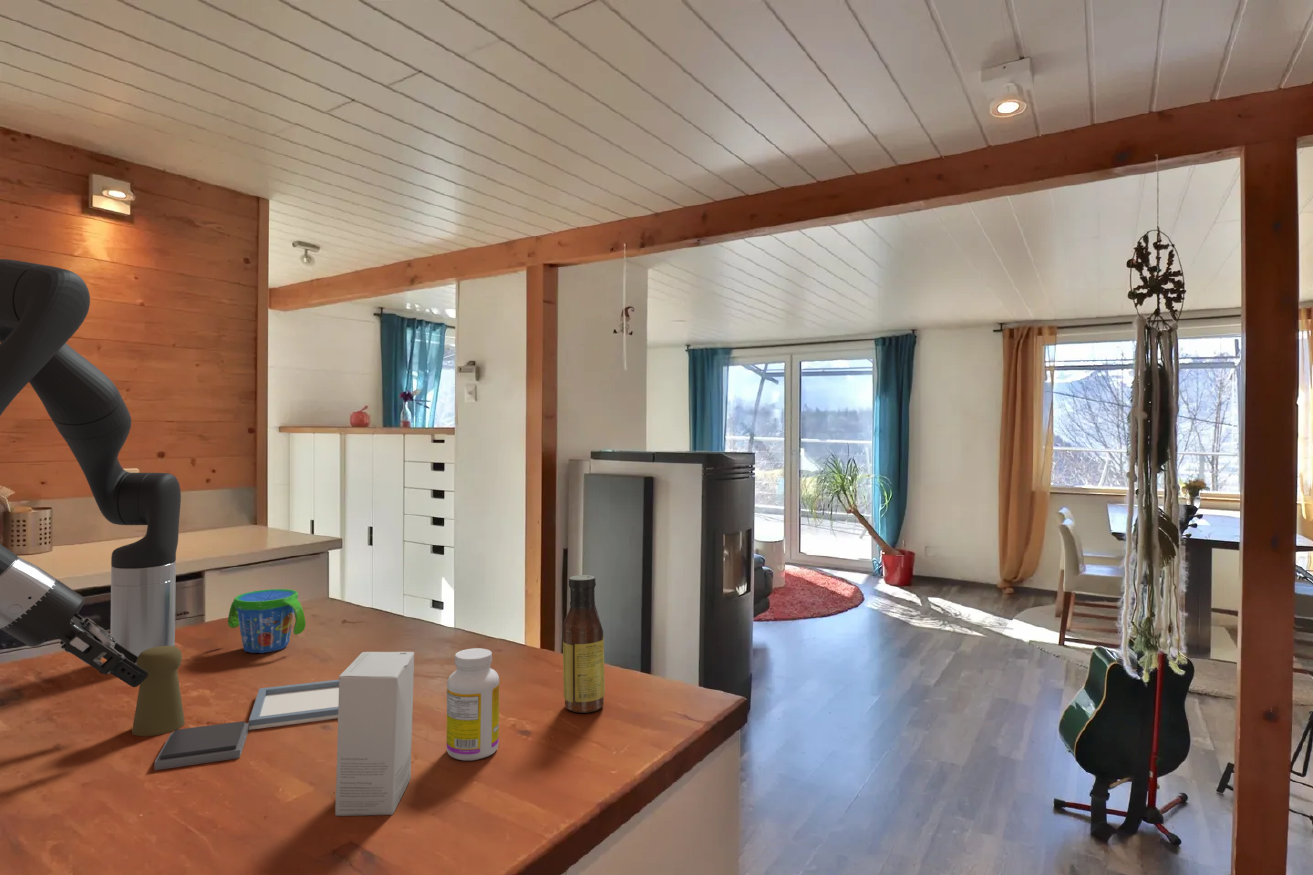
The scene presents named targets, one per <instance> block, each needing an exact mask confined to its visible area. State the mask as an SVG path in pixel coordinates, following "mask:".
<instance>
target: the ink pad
mask: <svg viewBox="0 0 1313 875" xmlns="http://www.w3.org/2000/svg"><path fill="white" fill-rule="evenodd" d="M249 731H250V730H249V722H245V720H243V721H242V720H241V721H235V722H234V721H233V722H226V723H225V722H224V723H218V724H212V725H210V724H209V725H204V726H203V725H202V726H195V727H187V728H178V729H176V730H174V731H171V732H170V734H169V736H168V738H167V739H166V742H165V743H164V745H163V747H162V748H161V750H160V751H159V753H158V755H157V757H156V758H155V760H154V771H159V770H166V769H172V768H180V767H187V766H192V765H193V766H194V765H200V764H207V763H215V762H221V761H228V760H236V759H240V758H241V756H240V755H242V752H243V749H244V745H245V743H246V739H247V736H248V733H249Z"/></svg>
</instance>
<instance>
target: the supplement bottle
mask: <svg viewBox="0 0 1313 875" xmlns="http://www.w3.org/2000/svg"><path fill="white" fill-rule="evenodd" d="M492 662H493V652H492V651H491V650H490V649H486V648H479V647H476V648H475V647H473V648H468V649H462V650H460V651H459V650H458V652H456V653H455V655H454V665H455V667H456V670H455V671H453V672H452V673H451V674H450V675H449V677H448V678H447V681H446V751H447V753H448V755H449V756H450V757H452V758H453V759H455V760H460V761H466V762H467V761H469V762H470V761H476V760H481V759H484V758H487V757H490V756H492V755H493V754H494V753H495V752H496V751H497V750H498V748H499V745H500V744H499V742H500V741H499V740H500V739H499V738H500V736H499V735H500V723H499V722H500V676H499V674H498V672H497V671H496V670H495V669H494V668H491V665H492Z"/></svg>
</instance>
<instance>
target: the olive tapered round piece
mask: <svg viewBox="0 0 1313 875" xmlns="http://www.w3.org/2000/svg"><path fill="white" fill-rule="evenodd" d="M182 660H183V654H182V651H181V649H180V648H178V647H177V646H176V645H175V646H158V647H153V648H149V649H146V650H144V651H143V652H141V653H140V655H139V656H138V658H137V662H136V665H138V666H139V667H141V668H142V669H144V670H145V671H147V673H148V676H147V678H146V679H145V680H144V681H143V682H142V683H141V684H140V685H139V686H138V687H139V688H138V693H137V700H136V705H135V706H136V707H135V712H134V717H133V718H134V719H133V722H132V723H133V724H132V730H131V734H132V735H134V736H137V737H151V736H152V737H153V736H158V735H164V734H167V733H172V732H174V731H175V730H177V729H181V727H183V726H184V725H185V715H184V710H183V709H184V707H183V700H182V694H181V688H180V680H179V675H178V674H179V673H178V669H179V667H180V666H181V665H182Z"/></svg>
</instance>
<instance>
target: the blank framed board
mask: <svg viewBox="0 0 1313 875" xmlns="http://www.w3.org/2000/svg"><path fill="white" fill-rule="evenodd" d="M338 705H339V679H332V680H324V681H322V680H321V681H316V682H315V681H313V682H306V683H296V684H287V685H280V686H270V687H268V686H267V687H260V688H258V692H257V694H256V698H255V701H254V704H253V708H252V710H251V712H250V716H249V720H248V723H249V731H252V730H258V729H264V728H265V729H266V728H267V729H268V728H272V727H281V726H288V725H296V724H303V723H304V724H305V723H310V722H318V721H325V720H327V721H328V720H333V719H338Z"/></svg>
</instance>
